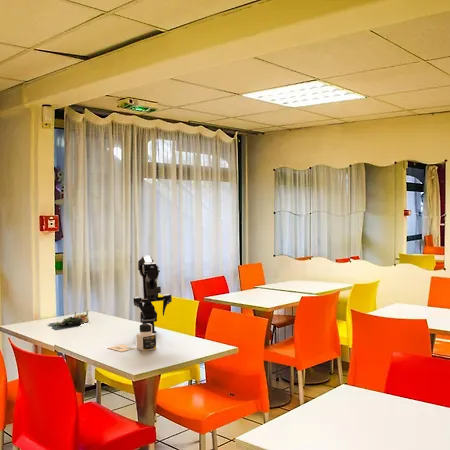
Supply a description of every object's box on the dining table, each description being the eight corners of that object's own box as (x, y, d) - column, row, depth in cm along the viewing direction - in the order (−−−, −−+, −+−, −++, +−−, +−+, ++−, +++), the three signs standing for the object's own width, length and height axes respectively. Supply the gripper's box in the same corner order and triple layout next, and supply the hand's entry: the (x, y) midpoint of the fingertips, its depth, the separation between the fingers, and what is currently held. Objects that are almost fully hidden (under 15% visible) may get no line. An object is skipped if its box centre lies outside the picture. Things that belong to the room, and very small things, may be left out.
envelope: (107, 348, 255) (107, 347, 255) (121, 345, 261) (121, 344, 261) (121, 352, 248) (121, 351, 248) (135, 348, 254) (135, 347, 254)
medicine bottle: (143, 351, 248) (142, 326, 248) (136, 348, 254) (135, 324, 254) (156, 348, 253) (155, 324, 252) (149, 345, 258) (148, 321, 258)
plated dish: (89, 317, 338) (88, 306, 337) (109, 324, 316) (109, 312, 316) (35, 326, 315) (34, 314, 315) (53, 334, 294) (53, 322, 293)
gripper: (131, 282, 254) (133, 313, 247) (170, 279, 256) (173, 309, 250) (133, 290, 264) (135, 320, 257) (170, 286, 266) (172, 316, 260)
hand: (153, 316), depth 256 cm, fingers open, 9 cm apart
